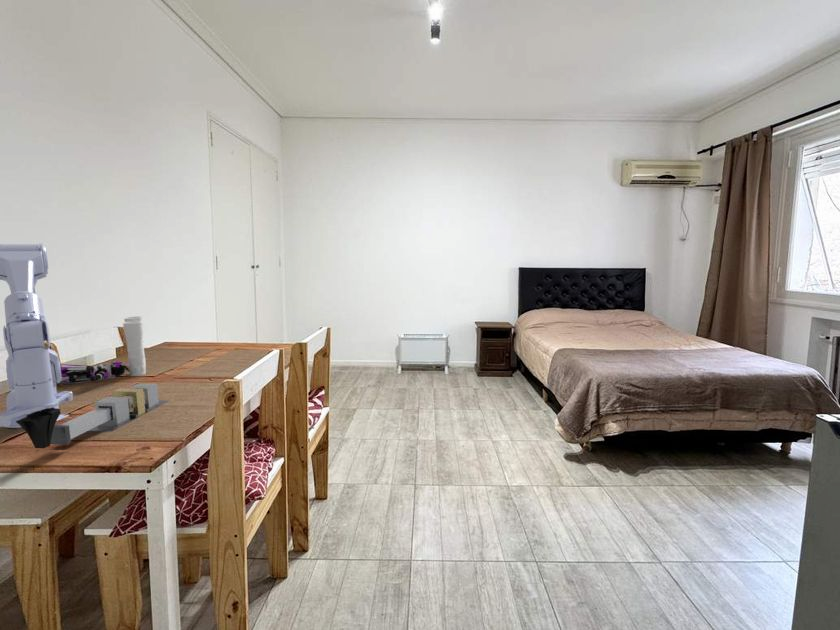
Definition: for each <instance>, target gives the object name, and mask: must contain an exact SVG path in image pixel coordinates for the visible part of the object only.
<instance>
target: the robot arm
mask: <svg viewBox="0 0 840 630" xmlns="http://www.w3.org/2000/svg"><path fill="white" fill-rule="evenodd" d="M48 269H49V263H48V255H47V248H46V245H44V244H43V243H39V244H37V243H36V244H35V243H34V244H32V243H28V244H27V243H25V244H24V243H21V244H18V243H17V244H16V243H14V244H13V243H12V244H9V243H7V244H5V243H3V244H2V243H1V244H0V281H5V282H6V283H7V285H8V288H9V291H10V294H8V296H6V297H5V299H4V301H3V305H4V316H5V325H3V328H2V331H3V334H2V335H3V341H4V345H5V350H6V352H7V355H8V357H7V358H6V360H5V365H6V367H5V369H6V377H7V378H6V379H7V384H8V388H9V389H10V390H11V391H9V393H8V394H7V395H6V400H5V405H6V410H5V411H4V412H2V413H0V427H5V428H6V429H7V428H8V429H10V428H11V429H20V428H22V429H23V430H24V431H25V433H26V434H27V436H28V437H29V439H30V441H31V442H32V444H33V446H34V448H35V449H47V448H48V447H50V446H51V444H50V442H51V437H52V432H53V428H54V425H56V423H57V422H58V421H60V420H62V419H64V418H66V417H70V415H69V414H61V409H60V407H59V405H61V404H63V403H66V402H71V401H74V396H73V395H74V394H73V391H72V390H71V391H67V390H64V391H61V392H58V391H57V384H61V383H60V381H61V380H62V378H63V377H62V376H61V368H60V367H61V365H60V364H61V363H60V359H59V354H58V353H57V351H55V350H54V349H51V348H50V346H51V338H50V330H49V329H50V328H49V324H48V322H47V320H46V317H45V314H44V310H43V309H44V308H43V307H44V306H43V301H42V298H41V297H40V296H39V295H38V294H36V285H37V282H38V280H41V279H44V278H46V277H47V274H48V273H49V270H48ZM45 342H46V343H47V346H48V347H47V346H45ZM56 382H57V383H56Z"/></svg>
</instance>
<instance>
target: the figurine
mask: <svg viewBox="0 0 840 630" xmlns="http://www.w3.org/2000/svg"><path fill="white" fill-rule="evenodd" d="M60 368H61V376H62V380H61V381H60V383H59V384H67V385H68V384H71V383H73V384H85V383H93V382H99V381H103V380H111V379H114V378H119V377H121V378H123V377H124V376H125V377H131V376H130V375H131V373H130V371H129V365H127V364H126V363H123V362H122V361H121V362H119V361H114V362H111V363H110V364H102V363H101V364H98V365H86V364H85V365H83V364H68V365H67V364H66V363H65V364H63V363H60ZM127 371H128V373H126V372H127ZM76 381H77V382H76ZM56 384H58V383H57V382H56Z"/></svg>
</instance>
